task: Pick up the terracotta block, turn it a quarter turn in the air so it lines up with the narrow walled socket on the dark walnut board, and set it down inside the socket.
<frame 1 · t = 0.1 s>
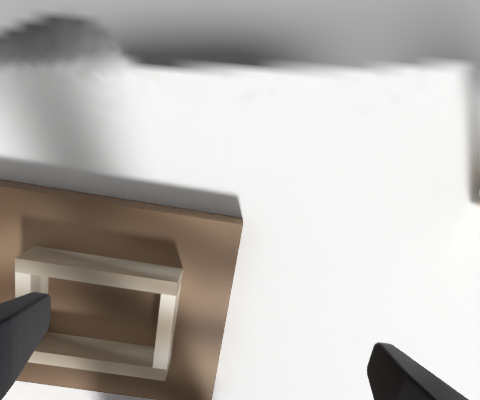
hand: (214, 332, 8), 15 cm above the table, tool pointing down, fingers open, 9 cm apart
socket board: (114, 295, 25), on the table
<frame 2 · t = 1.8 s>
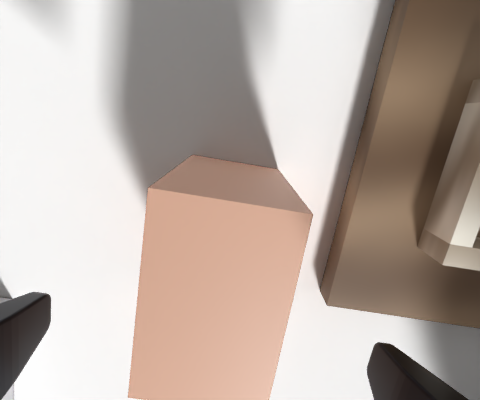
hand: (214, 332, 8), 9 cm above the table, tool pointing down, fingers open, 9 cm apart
key block: (225, 224, 17), on the table
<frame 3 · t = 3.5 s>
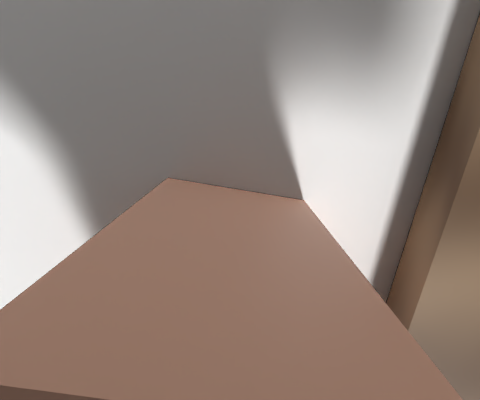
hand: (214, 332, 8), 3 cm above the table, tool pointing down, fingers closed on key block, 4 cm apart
key block: (220, 284, 11), on the table, touching gripper
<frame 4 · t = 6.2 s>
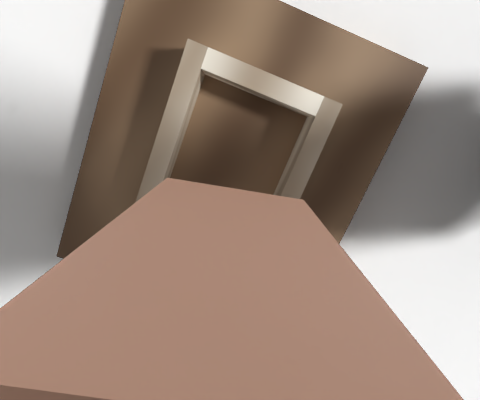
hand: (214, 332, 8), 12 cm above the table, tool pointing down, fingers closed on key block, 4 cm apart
key block: (220, 284, 11), point 9 cm above the table, touching gripper
socket board: (229, 165, 19), on the table
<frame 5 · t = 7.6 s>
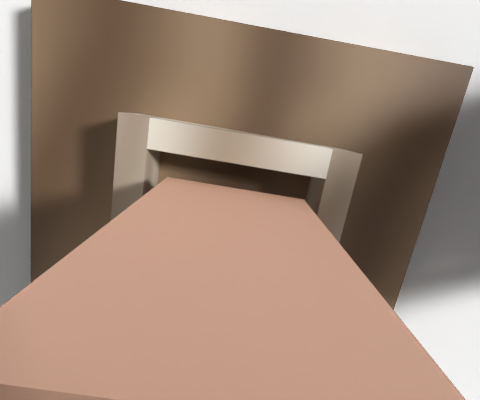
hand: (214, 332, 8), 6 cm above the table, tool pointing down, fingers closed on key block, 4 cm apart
key block: (220, 283, 11), point 4 cm above the table, touching gripper
socket board: (222, 243, 15), on the table
when the fingers open (5 cm above the table, at t = 8.6 s): key block stays where it is, resting on socket board.
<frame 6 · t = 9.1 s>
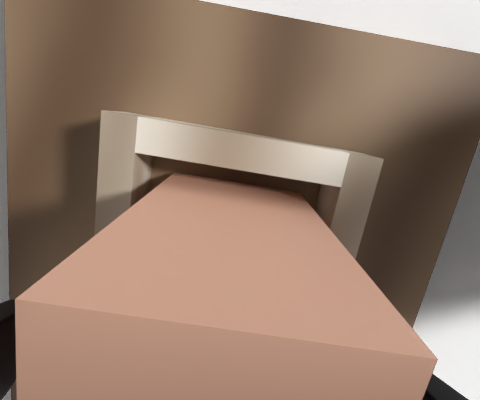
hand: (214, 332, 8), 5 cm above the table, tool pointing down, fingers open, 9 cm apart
key block: (222, 271, 12), point 1 cm above the table, touching socket board
socket board: (222, 255, 13), on the table
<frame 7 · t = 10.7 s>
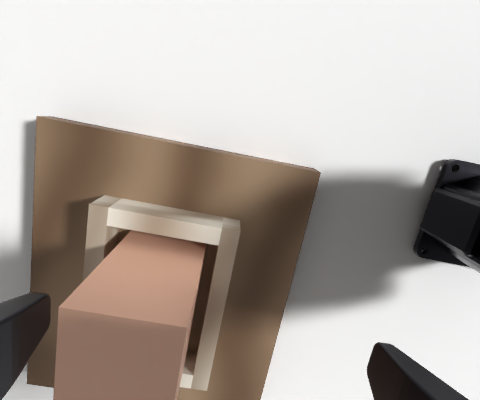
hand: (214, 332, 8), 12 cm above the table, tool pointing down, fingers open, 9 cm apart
key block: (162, 286, 19), point 1 cm above the table, touching socket board
socket board: (166, 275, 21), on the table
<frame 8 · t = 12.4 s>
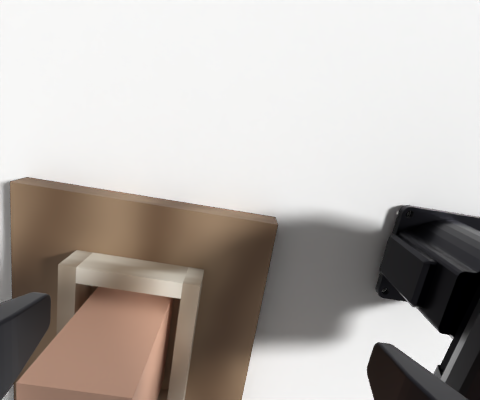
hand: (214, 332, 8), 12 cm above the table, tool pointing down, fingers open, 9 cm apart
key block: (135, 331, 21), point 1 cm above the table, touching socket board
socket board: (141, 318, 22), on the table
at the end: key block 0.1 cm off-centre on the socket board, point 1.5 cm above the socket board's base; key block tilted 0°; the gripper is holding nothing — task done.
